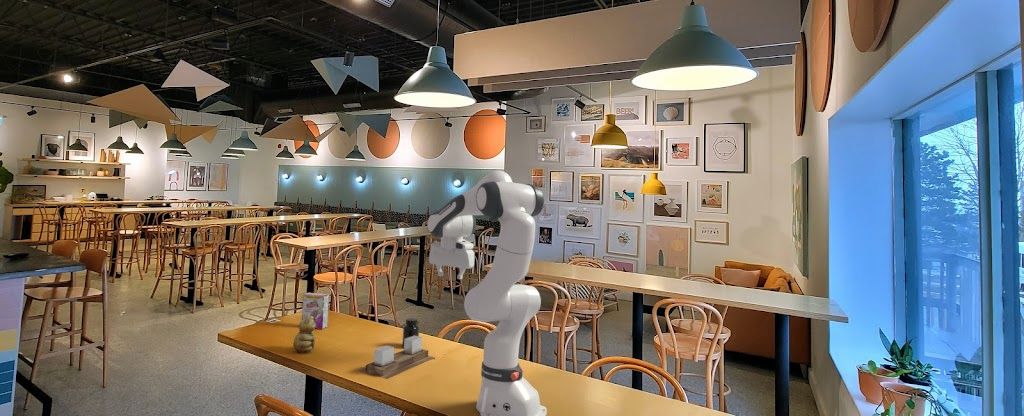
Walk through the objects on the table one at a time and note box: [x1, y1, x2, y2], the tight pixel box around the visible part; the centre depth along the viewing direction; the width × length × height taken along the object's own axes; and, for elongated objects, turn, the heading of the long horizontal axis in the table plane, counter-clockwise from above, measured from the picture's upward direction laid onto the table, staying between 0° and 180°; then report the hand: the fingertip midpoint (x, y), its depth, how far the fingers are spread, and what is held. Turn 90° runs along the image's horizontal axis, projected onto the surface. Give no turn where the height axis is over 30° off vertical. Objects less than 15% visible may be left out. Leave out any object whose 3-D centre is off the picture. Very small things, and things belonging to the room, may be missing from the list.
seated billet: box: [373, 345, 395, 368], centre depth 168 cm, size 4×6×8 cm, turn 152°
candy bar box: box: [301, 292, 330, 330], centre depth 223 cm, size 11×5×16 cm, turn 82°
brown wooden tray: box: [358, 348, 436, 380], centre depth 175 cm, size 14×27×4 cm, turn 152°
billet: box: [403, 335, 423, 356], centre depth 182 cm, size 4×6×8 cm, turn 152°
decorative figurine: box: [292, 314, 316, 353], centre depth 189 cm, size 10×8×15 cm
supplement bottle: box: [402, 317, 420, 348], centre depth 201 cm, size 7×7×12 cm
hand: (450, 277), depth 184 cm, fingers open, 8 cm apart
